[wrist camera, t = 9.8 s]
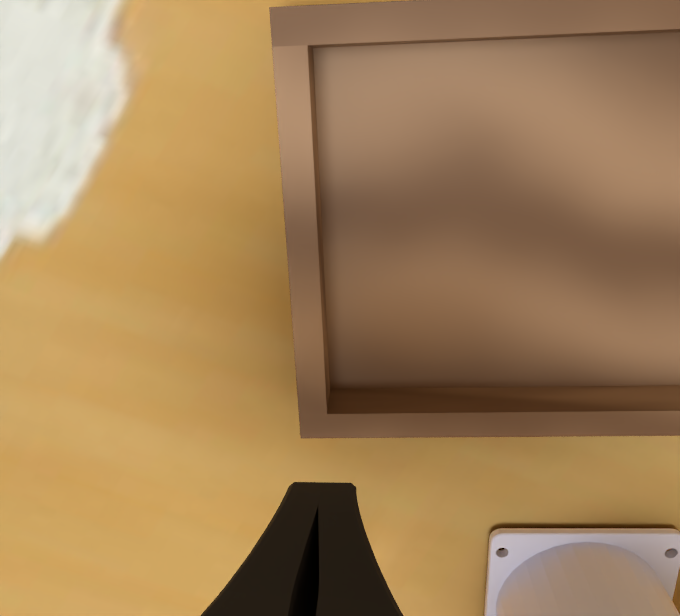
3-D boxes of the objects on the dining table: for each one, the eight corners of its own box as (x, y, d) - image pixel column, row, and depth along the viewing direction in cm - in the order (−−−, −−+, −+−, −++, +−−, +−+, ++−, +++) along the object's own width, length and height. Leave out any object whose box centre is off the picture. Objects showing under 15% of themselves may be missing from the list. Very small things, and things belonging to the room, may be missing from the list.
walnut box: (693, 400, 23) (728, 435, 21) (306, 404, 24) (300, 438, 21) (776, -8, 18) (835, -20, 16) (281, 15, 19) (269, 7, 16)
